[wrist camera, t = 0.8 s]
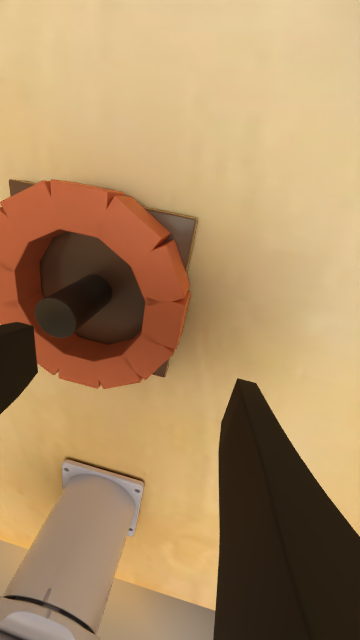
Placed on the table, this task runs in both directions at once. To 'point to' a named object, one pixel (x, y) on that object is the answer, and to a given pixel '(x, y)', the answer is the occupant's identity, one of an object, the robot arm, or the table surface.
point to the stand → (98, 283)
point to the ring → (127, 242)
